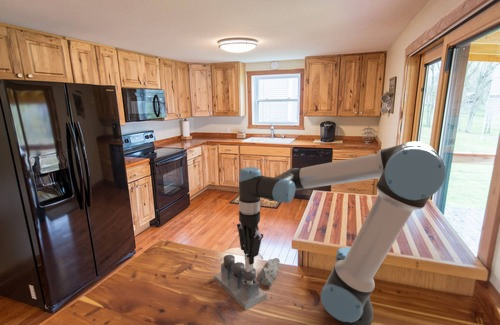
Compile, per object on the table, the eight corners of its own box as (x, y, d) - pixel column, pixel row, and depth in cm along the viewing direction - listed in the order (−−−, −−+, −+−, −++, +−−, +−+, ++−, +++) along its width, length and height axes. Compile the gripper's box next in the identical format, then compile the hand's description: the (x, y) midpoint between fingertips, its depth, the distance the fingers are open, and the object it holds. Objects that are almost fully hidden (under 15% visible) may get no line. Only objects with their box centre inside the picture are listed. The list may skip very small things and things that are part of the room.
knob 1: (237, 278, 110) (236, 258, 108) (227, 283, 108) (227, 262, 106) (231, 273, 114) (230, 253, 112) (221, 277, 111) (221, 257, 109)
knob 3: (258, 294, 99) (258, 271, 97) (248, 299, 97) (248, 276, 95) (250, 287, 103) (250, 265, 101) (241, 292, 100) (241, 270, 98)
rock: (266, 264, 122) (266, 251, 120) (281, 268, 119) (281, 254, 118) (254, 285, 108) (254, 270, 106) (271, 289, 105) (271, 274, 104)
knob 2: (247, 287, 105) (246, 266, 103) (237, 292, 102) (237, 270, 100) (240, 281, 109) (240, 260, 107) (231, 286, 106) (230, 265, 104)
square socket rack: (266, 298, 100) (266, 282, 99) (245, 310, 94) (245, 293, 93) (233, 270, 117) (233, 256, 116) (214, 279, 111) (214, 264, 110)
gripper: (269, 214, 90) (268, 274, 95) (246, 203, 100) (246, 258, 105) (252, 219, 86) (252, 283, 90) (230, 207, 96) (231, 265, 101)
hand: (249, 270), depth 98 cm, fingers closed
